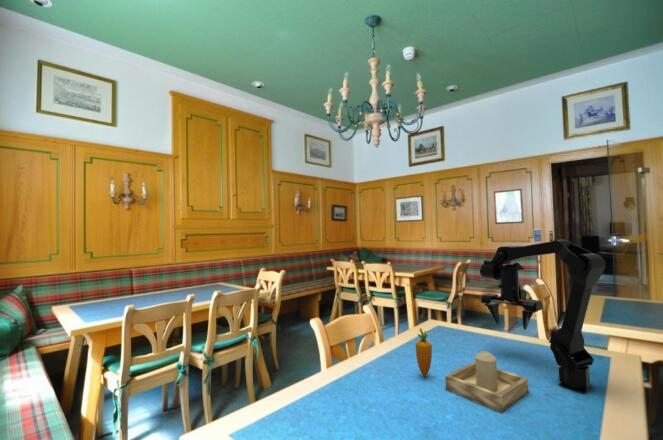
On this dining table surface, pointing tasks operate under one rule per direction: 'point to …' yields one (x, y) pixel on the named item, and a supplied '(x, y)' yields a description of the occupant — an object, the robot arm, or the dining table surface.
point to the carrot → (423, 353)
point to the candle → (486, 371)
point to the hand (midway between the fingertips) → (511, 326)
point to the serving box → (500, 400)
